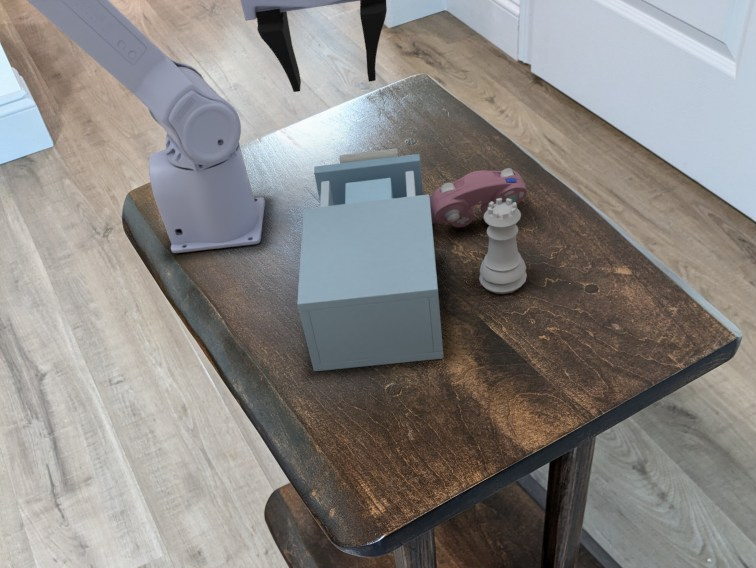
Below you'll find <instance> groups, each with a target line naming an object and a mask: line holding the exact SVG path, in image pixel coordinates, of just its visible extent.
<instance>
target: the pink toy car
mask: <svg viewBox="0 0 756 568" xmlns="http://www.w3.org/2000/svg"><path fill="white" fill-rule="evenodd" d="M527 194H528V191H527V186H526V183H525V181H524V180H523V178H522V176H521V175H520V173H518V171H516V170H514V169H512V168H511V167H506V168H504V169H503V170H485V169H481V170H474V171H471V172H468V173H467V174H465V175H464V176H462V177H461V178H458V179H457V180H455V181H452V182H445V183H444V184H442V185H441V186H440V187H438V188H437V189H436V190H434V191H433V192H432V194H431V195H429V196H430V207H431V218H432V225H433V224H434V225H435V224H439V223H444V224H445V223H447V224H450V225H452V226H453V227H454V228H463V227H466V226H468V225H470V224H471V223H472V222H474V218H475V216H474V213H473V209H472V208H473V207H476V206H479V205H480V206H479V209H480V212H481V215H482V218H483V219H484V214H485V212H486V211H487V210H488V207H489V203H490V202H491V201H493V202H494V204H496V199H498V198H502V202H503V203H506V199H507V198H509V199H512V203H514V202H516V204H517V205H518V204H519V203H521V202H522V201H523V200H524V199H525V198H526V197H527Z"/></svg>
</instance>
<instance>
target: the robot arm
mask: <svg viewBox="0 0 756 568" xmlns="http://www.w3.org/2000/svg"><path fill="white" fill-rule="evenodd" d="M26 1H27V2H28V3H29V4H30V5H32V7H34V9H36V10H37V11H38V12H39V13H40V14H41V15H43V17H45V18H46V19H47V20H48V21H50V23H52V24H53V26H55V27H56V28H58V29H59V30H60V31H61V32H62V33H63V34H64V35H65V36H66V37H68V38H69V39H70V40H71V41H72V42H73V43H74V44H76V45H77V46H78V47H79V48H80V49H81V50H83V51H84V53H86V54H87V55H88V56H89V57H91V58H92V59H93V60H94V61H95V62H96V63H98V65H100V67H102V68H103V69H104V70H105V71H107V72H108V73H109V74H110V75H111V76H112V77H113V78H114V79H116V81H118V82H119V83H120V84H121V85H122V86H124V87H125V88H126V89H127V90H128V91H129V92H130V93H132V95H134V96H135V97H136V98H137V99H138V100H139V101H140V102H141V103H142V104H143V105H144V106H145V107H146V108H147V110H148V113H149V114H150V116H151V117H152V119H153V120H154V121H155V122H156V123H157V124H158V125H159V126H160V127H161V128H162V129H163V130H164V131H165V132H166V136H165V149H162V150H159V151H156V152H153V153H151V154H150V156H149V160H148V175H149V181H150V187H151V191H152V194H153V198H154V201H155V203H156V206H157V209H158V211H159V215H160V217H161V220H162V223H163V226H164V228H165V231H166V234H167V237H168V240H169V241H170V244H171V245H170V251H171V253H173V254H181V253H190V252H198V251H199V252H200V251H207V250H214V249H215V250H217V249H223V248H224V249H225V248H231V247H232V248H233V247H242V246H251V245H258V244H259V243H260V242H261V239H262V231H263V223H264V214H265V207H266V206H265V204H266V200H265V198H264V197H262V196H260V197H254V193H253V190H252V185H251V182H250V179H249V174H248V171H247V167H246V163H245V159H244V156H243V152H242V148H241V144H240V138H241V134H242V124H241V119H240V116H239V114H238V111H237V110H236V109H235V107H234V106H233V105H232V104H231V103H230V102H229V101H227V100H226V99H225V98H223V97H222V96H221V95H220V94H219V93H217V91H216V90H215V89H214V88H213V87H212V86H211V85H210V84H209V83H207V81H206V80H205V79H204V77H203V76H202V74H201V73H200V72H199V71H198V70H197V69H196V68H194V67H193V66H192V65H189V64H187V63H183V62H179V61H176V60H174V59H172V58H170V56H168V55H167V54H166V53H165V52H164V51H163V50H162V49H161V48H159V46H157V45H156V44H155V43H154V42H153V41H152V40H150V38H148V36H147V35H145V33H144V32H142V31H141V30H140V29H139V28H138V27H137V26H136V25H135V24H134V23H133V22H132V21H131V20H130V19H129V18H128V17H127V16H126V15H125V14H124V13H122V11H120V10H119V9H118V8H117V7H116V6H115V5H114V4H113V3H112V2H111V1H110V0H26ZM358 1H359V2H360V3H359V17H360V22H361V28H362V35H363V40H364V47H365V55H366V56H365V57H366V71H367V72H366V73H367V80H368V82H369V83H370V82H375V81H376V79H377V77H376V76H377V75H376V62H377V55H378V53H377V52H378V47H379V44H380V43H379V42H380V37H381V34H382V32H383V31H382V30H383V27H384V24H385V21H386V16H387V13H388V12H387V11H388V10H387V8H388V7H387V0H240V4H241V8H242V12H243V16H244V20H245V21H246V22H247V21H254V20H256V22H257V33H258V35H259V37H260V38H261V39H262V41H263V42H264V43H265V45H267V46H268V48H269V49H270V51H272V53H273V55H274V56H275V58H276V59H277V61H278V62H279V63H280V66H281V67H282V69H283V71H284V73H285V75H286V77H287V79H288V81H289V84H290V86H291V89H292V92H293V93H298V92H301V86H302V80H301V74H300V69H299V65H298V62H297V58H296V54H295V51H294V46H293V41H292V35H291V31H290V25H289V18H288V12H293V11H301V10H306V9H312V8H313V9H314V8H320V7H327V6H333V5H341V4H347V3H353V2H358Z"/></svg>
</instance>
